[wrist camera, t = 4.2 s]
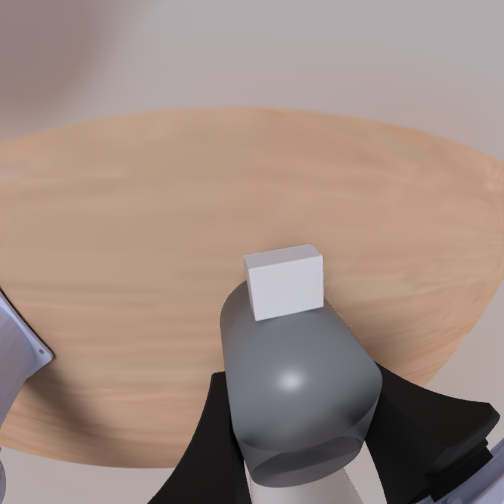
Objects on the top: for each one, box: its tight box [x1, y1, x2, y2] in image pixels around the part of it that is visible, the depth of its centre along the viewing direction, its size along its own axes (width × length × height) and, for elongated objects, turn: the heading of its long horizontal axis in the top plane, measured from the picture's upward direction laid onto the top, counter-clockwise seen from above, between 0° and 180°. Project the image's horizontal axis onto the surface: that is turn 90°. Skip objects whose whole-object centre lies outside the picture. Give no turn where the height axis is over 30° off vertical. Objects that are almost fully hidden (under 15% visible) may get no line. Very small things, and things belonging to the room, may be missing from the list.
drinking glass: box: [249, 468, 363, 504], centre depth 14 cm, size 7×7×15 cm
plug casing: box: [220, 244, 382, 488], centre depth 9 cm, size 10×4×5 cm, turn 7°
